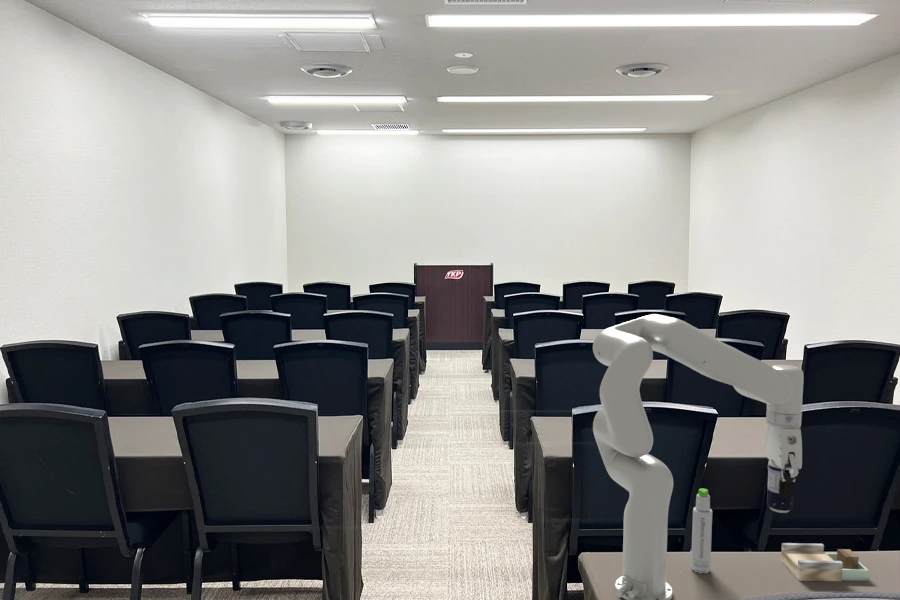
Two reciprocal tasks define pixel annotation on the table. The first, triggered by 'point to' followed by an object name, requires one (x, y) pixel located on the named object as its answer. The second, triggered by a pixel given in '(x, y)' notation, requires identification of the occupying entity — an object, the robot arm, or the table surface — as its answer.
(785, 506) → the beverage can
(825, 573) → the slot board
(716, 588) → the table surface
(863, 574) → the tray
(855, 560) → the brown block
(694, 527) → the bottle
